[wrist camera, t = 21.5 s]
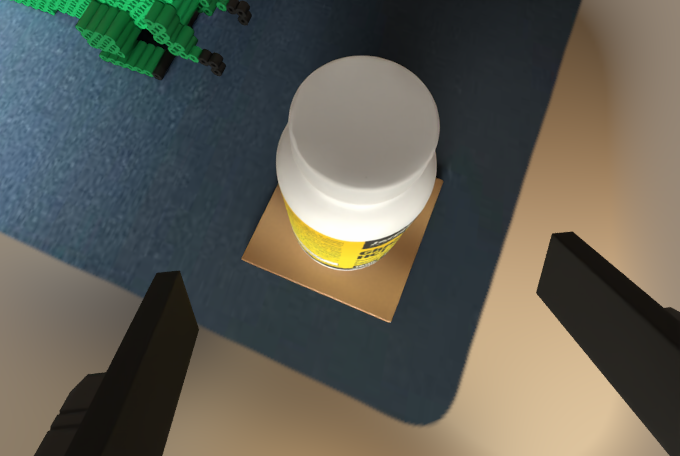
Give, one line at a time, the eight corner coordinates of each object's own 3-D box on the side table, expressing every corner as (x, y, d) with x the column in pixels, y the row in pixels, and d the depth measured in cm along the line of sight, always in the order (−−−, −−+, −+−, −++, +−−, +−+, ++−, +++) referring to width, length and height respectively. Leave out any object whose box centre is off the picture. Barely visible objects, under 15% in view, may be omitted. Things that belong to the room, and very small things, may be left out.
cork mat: (306, 130, 24) (306, 125, 24) (441, 183, 24) (443, 180, 23) (243, 260, 22) (240, 258, 22) (389, 323, 22) (390, 322, 21)
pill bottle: (361, 294, 21) (396, 260, 11) (270, 232, 22) (218, 142, 11) (419, 206, 23) (501, 98, 12) (332, 150, 23) (337, 2, 13)
